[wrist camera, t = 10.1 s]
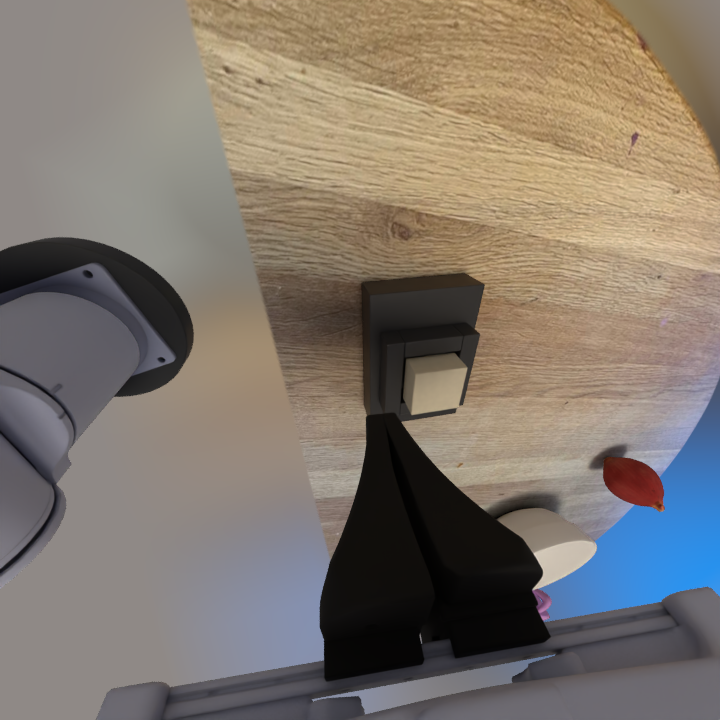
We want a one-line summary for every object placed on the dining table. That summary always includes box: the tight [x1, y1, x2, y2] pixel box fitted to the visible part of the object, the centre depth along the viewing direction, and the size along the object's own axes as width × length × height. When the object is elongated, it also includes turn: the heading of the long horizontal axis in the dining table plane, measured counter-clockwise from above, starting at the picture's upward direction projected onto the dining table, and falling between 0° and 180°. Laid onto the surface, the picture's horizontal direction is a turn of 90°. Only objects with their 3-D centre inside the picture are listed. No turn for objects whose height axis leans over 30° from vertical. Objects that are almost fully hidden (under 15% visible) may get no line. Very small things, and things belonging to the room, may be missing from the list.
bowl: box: [496, 508, 597, 590], centre depth 45 cm, size 18×18×7 cm
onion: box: [603, 457, 665, 512], centre depth 38 cm, size 6×6×8 cm
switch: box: [403, 353, 467, 415], centre depth 20 cm, size 4×4×2 cm
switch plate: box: [362, 273, 485, 422], centre depth 22 cm, size 12×8×4 cm, turn 1°
